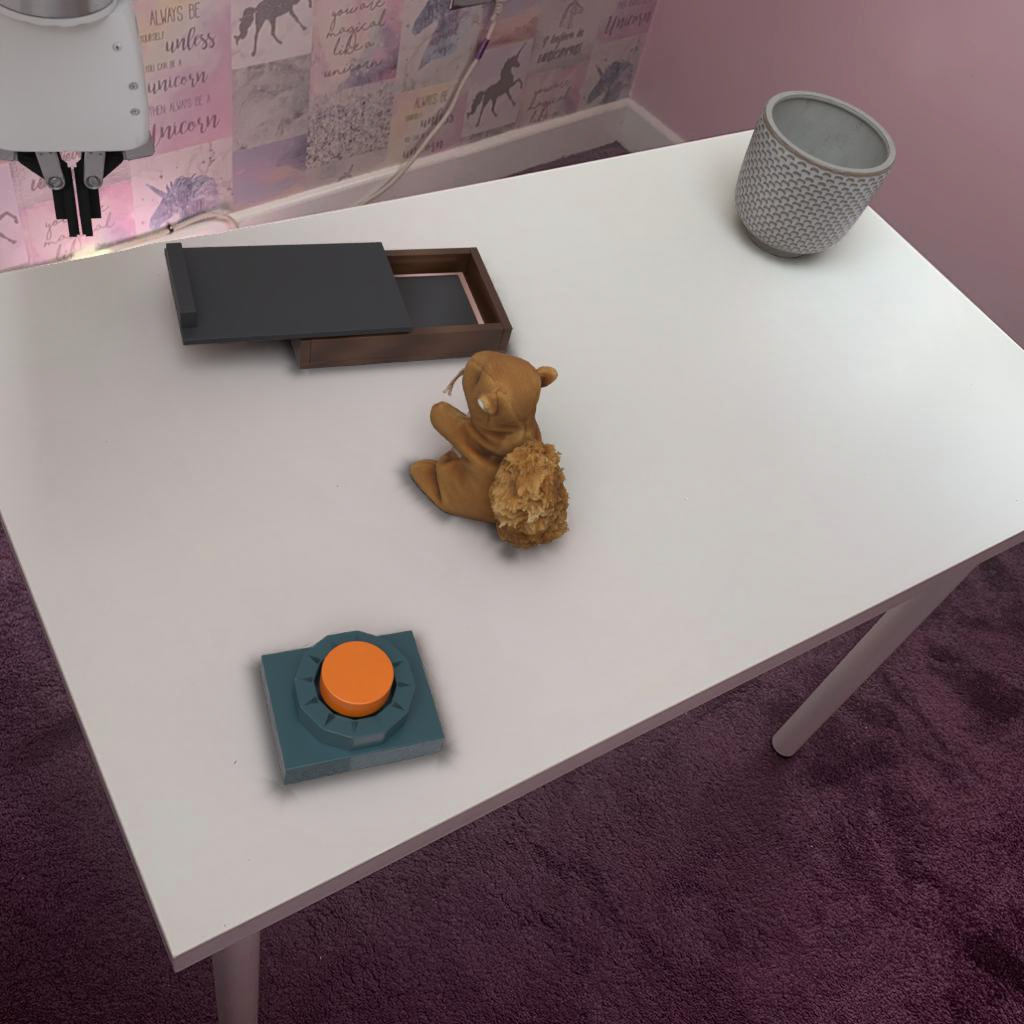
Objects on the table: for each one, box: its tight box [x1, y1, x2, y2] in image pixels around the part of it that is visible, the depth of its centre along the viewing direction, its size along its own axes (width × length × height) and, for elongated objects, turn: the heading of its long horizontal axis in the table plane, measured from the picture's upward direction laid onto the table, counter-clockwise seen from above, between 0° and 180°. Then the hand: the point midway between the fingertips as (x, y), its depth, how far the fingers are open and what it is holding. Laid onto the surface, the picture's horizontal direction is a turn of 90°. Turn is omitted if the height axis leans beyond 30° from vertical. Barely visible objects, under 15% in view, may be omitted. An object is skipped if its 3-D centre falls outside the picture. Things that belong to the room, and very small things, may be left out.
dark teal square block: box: [259, 629, 445, 786], centre depth 67 cm, size 10×8×4 cm
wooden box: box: [290, 246, 514, 370], centre depth 91 cm, size 18×11×3 cm, turn 108°
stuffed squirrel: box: [409, 351, 570, 550], centre depth 77 cm, size 10×14×13 cm
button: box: [319, 641, 394, 717], centre depth 65 cm, size 4×4×2 cm
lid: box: [163, 241, 413, 346], centre depth 85 cm, size 18×11×2 cm, turn 108°
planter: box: [734, 90, 897, 259], centre depth 108 cm, size 14×14×13 cm
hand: (79, 223), depth 75 cm, fingers closed
